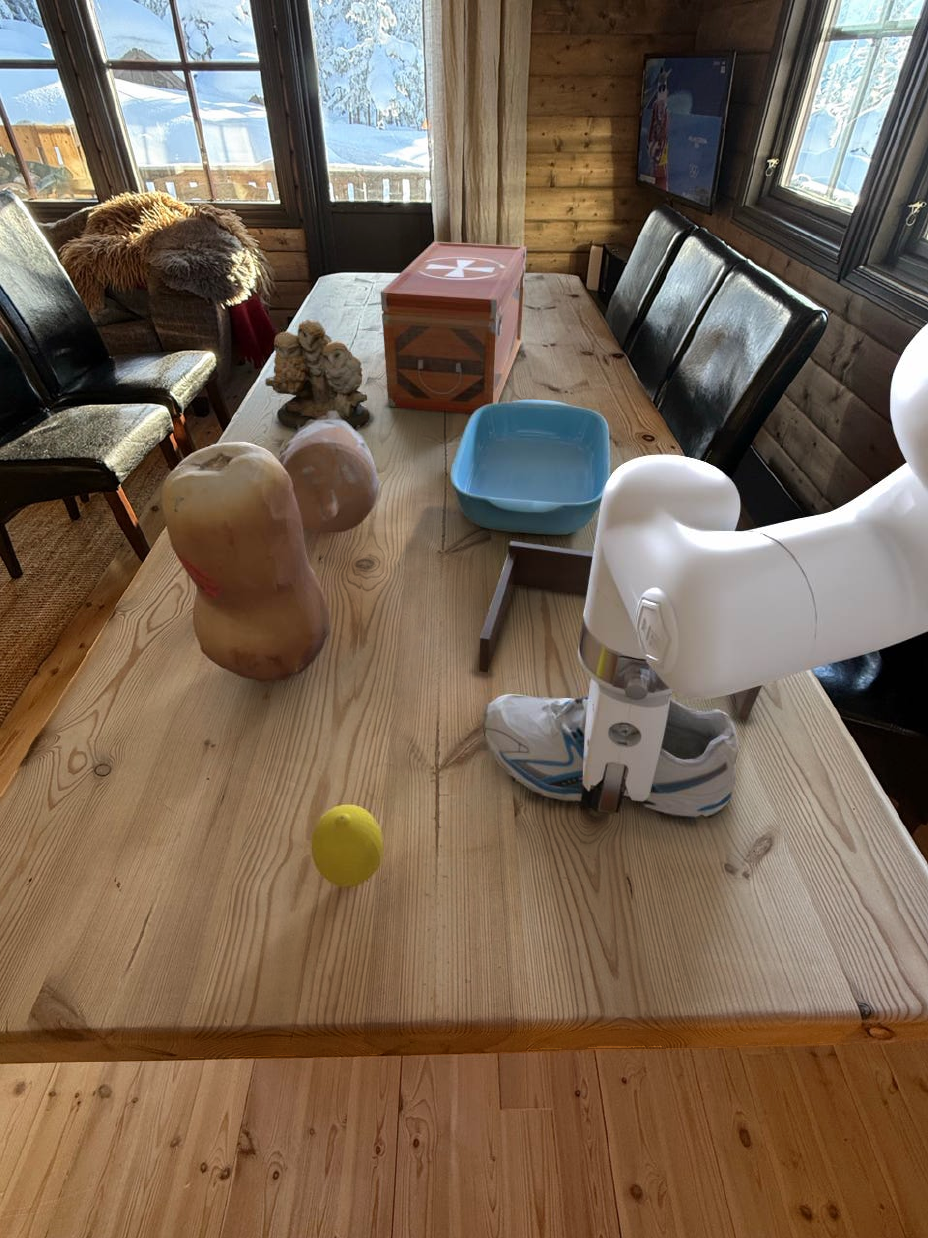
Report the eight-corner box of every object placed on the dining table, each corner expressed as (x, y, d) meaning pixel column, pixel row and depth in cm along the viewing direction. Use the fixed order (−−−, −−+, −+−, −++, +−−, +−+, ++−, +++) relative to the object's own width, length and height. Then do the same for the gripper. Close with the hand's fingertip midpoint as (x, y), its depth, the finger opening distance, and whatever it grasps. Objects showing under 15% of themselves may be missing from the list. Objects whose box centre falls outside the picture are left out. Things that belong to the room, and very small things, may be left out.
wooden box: (522, 343, 152) (528, 245, 139) (494, 416, 122) (498, 300, 108) (435, 337, 155) (434, 240, 142) (387, 406, 125) (379, 292, 111)
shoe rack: (747, 719, 67) (765, 678, 63) (478, 671, 72) (480, 630, 68) (736, 614, 79) (750, 574, 75) (507, 579, 84) (510, 540, 80)
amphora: (266, 488, 76) (286, 351, 95) (268, 580, 88) (286, 443, 107) (385, 500, 79) (382, 365, 98) (372, 588, 91) (371, 453, 110)
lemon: (394, 891, 53) (387, 837, 48) (326, 914, 51) (311, 862, 46) (377, 833, 57) (369, 777, 52) (313, 853, 55) (298, 798, 50)
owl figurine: (264, 432, 116) (243, 331, 105) (281, 404, 125) (264, 309, 114) (365, 434, 115) (355, 333, 104) (375, 407, 124) (367, 311, 113)
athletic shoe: (485, 707, 67) (488, 643, 58) (715, 733, 65) (758, 672, 56) (473, 802, 62) (474, 749, 52) (725, 834, 60) (774, 785, 50)
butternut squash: (187, 665, 72) (108, 456, 56) (286, 606, 80) (242, 407, 63) (264, 730, 65) (198, 513, 49) (364, 659, 73) (336, 451, 57)
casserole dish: (475, 430, 117) (476, 391, 112) (602, 439, 115) (608, 399, 110) (438, 547, 89) (437, 501, 85) (604, 563, 87) (613, 516, 82)
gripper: (700, 737, 38) (642, 895, 49) (691, 583, 49) (646, 742, 61) (568, 715, 39) (543, 874, 51) (589, 570, 50) (564, 728, 62)
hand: (599, 802), depth 56 cm, fingers closed
